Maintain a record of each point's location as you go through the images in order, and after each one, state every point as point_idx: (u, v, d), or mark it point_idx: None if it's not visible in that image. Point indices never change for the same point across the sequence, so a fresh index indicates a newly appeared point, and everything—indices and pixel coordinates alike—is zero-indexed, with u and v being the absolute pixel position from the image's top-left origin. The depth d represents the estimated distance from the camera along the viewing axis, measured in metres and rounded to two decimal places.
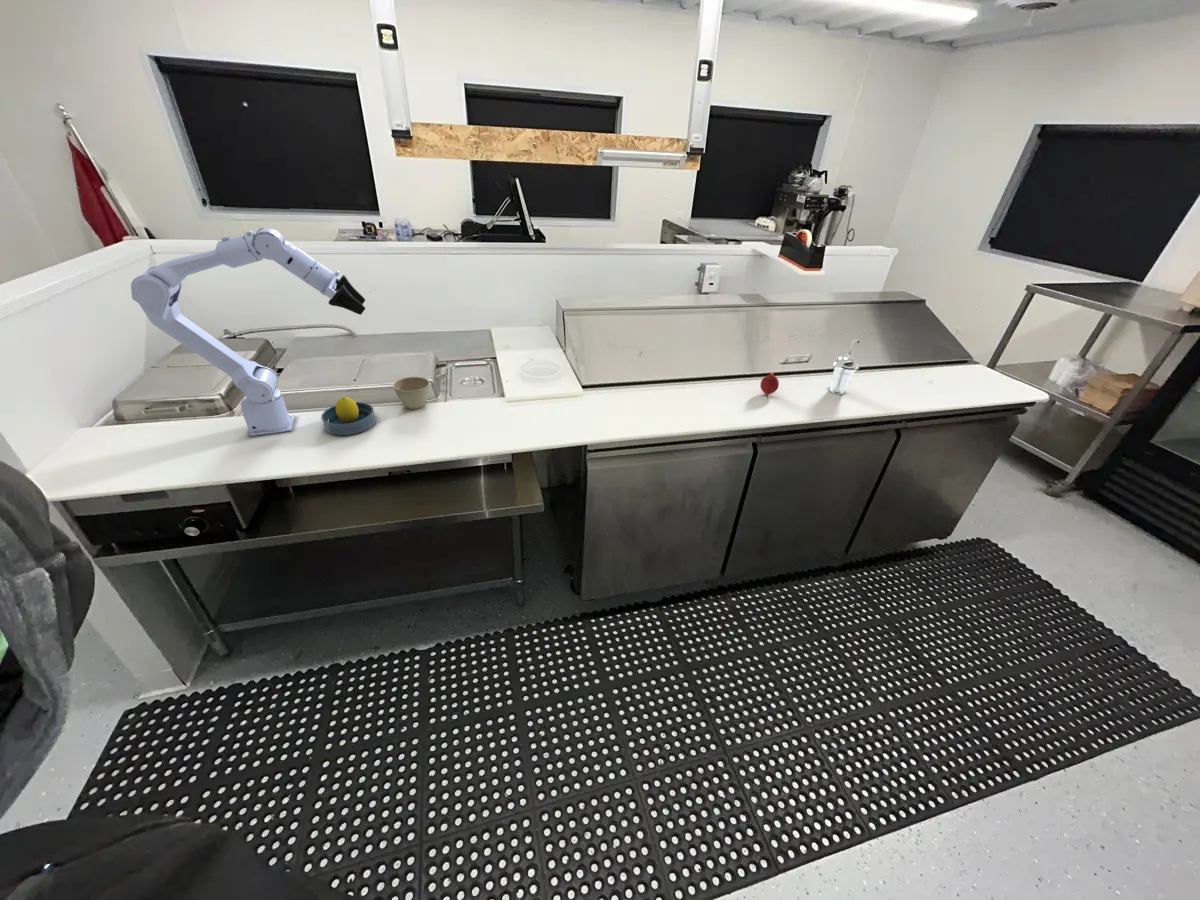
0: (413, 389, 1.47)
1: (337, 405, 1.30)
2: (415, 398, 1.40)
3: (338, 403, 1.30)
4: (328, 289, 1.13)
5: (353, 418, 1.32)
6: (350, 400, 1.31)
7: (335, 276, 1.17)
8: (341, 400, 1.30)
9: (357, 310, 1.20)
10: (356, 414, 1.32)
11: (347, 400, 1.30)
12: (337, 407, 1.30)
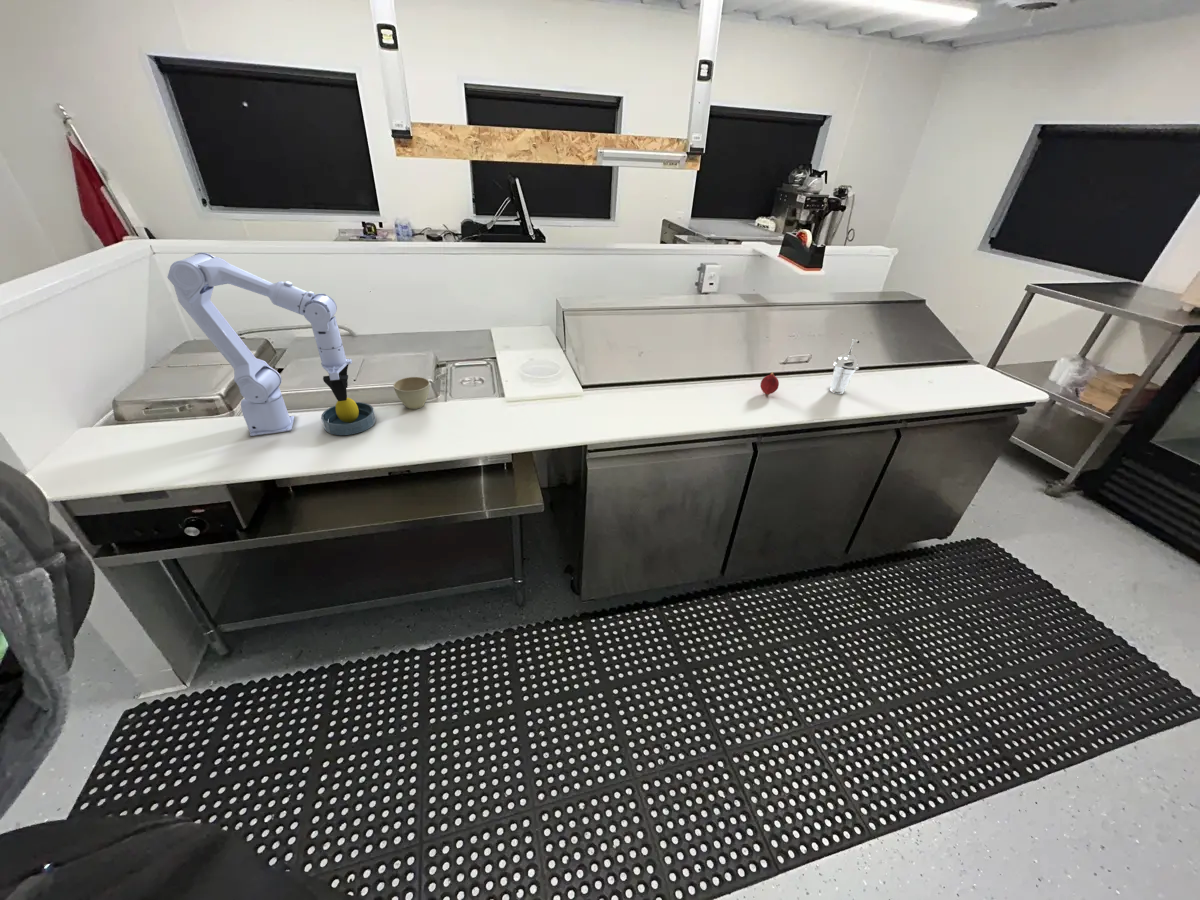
0: (413, 389, 1.47)
1: (337, 405, 1.30)
2: (415, 398, 1.40)
3: (338, 403, 1.30)
4: (335, 373, 1.20)
5: (353, 418, 1.32)
6: (350, 400, 1.31)
7: (346, 363, 1.25)
8: None
9: (339, 397, 1.26)
10: (356, 414, 1.32)
11: (347, 400, 1.30)
12: (337, 407, 1.30)
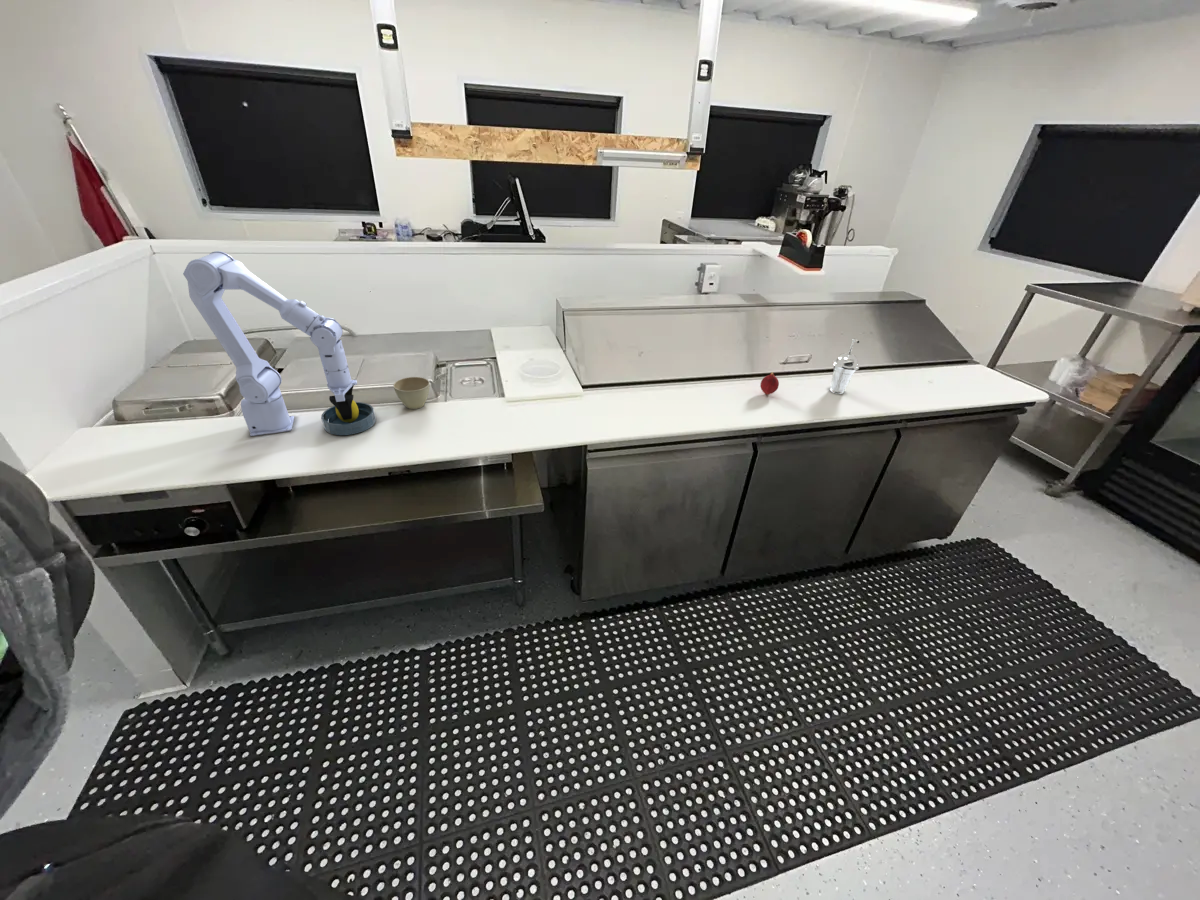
0: (413, 389, 1.47)
1: None
2: (415, 398, 1.40)
3: None
4: (341, 395, 1.23)
5: (353, 418, 1.32)
6: None
7: (351, 385, 1.28)
8: None
9: (344, 415, 1.29)
10: (356, 414, 1.32)
11: None
12: None
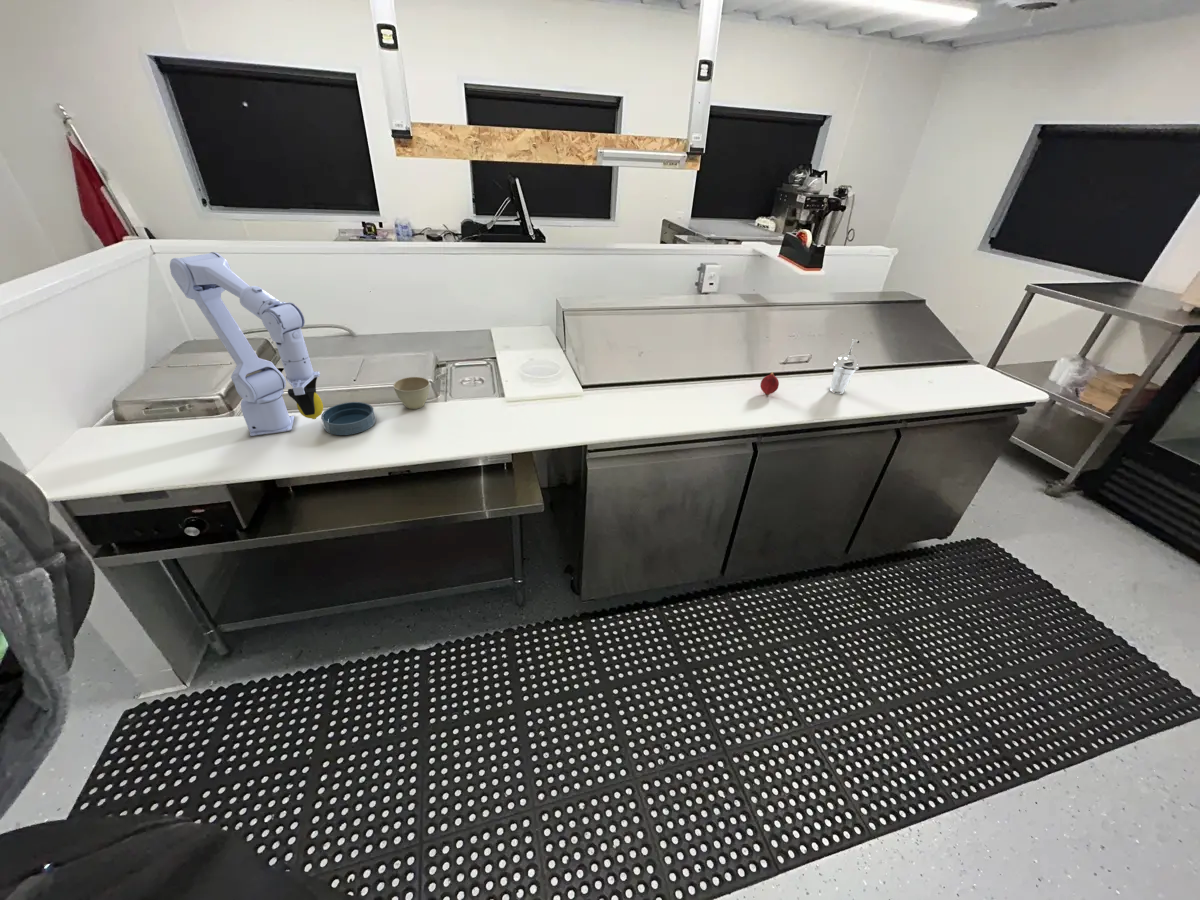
0: (413, 389, 1.47)
1: None
2: (415, 398, 1.40)
3: None
4: (300, 388, 1.11)
5: (316, 413, 1.20)
6: None
7: (313, 376, 1.16)
8: None
9: (306, 411, 1.18)
10: (320, 409, 1.21)
11: None
12: None
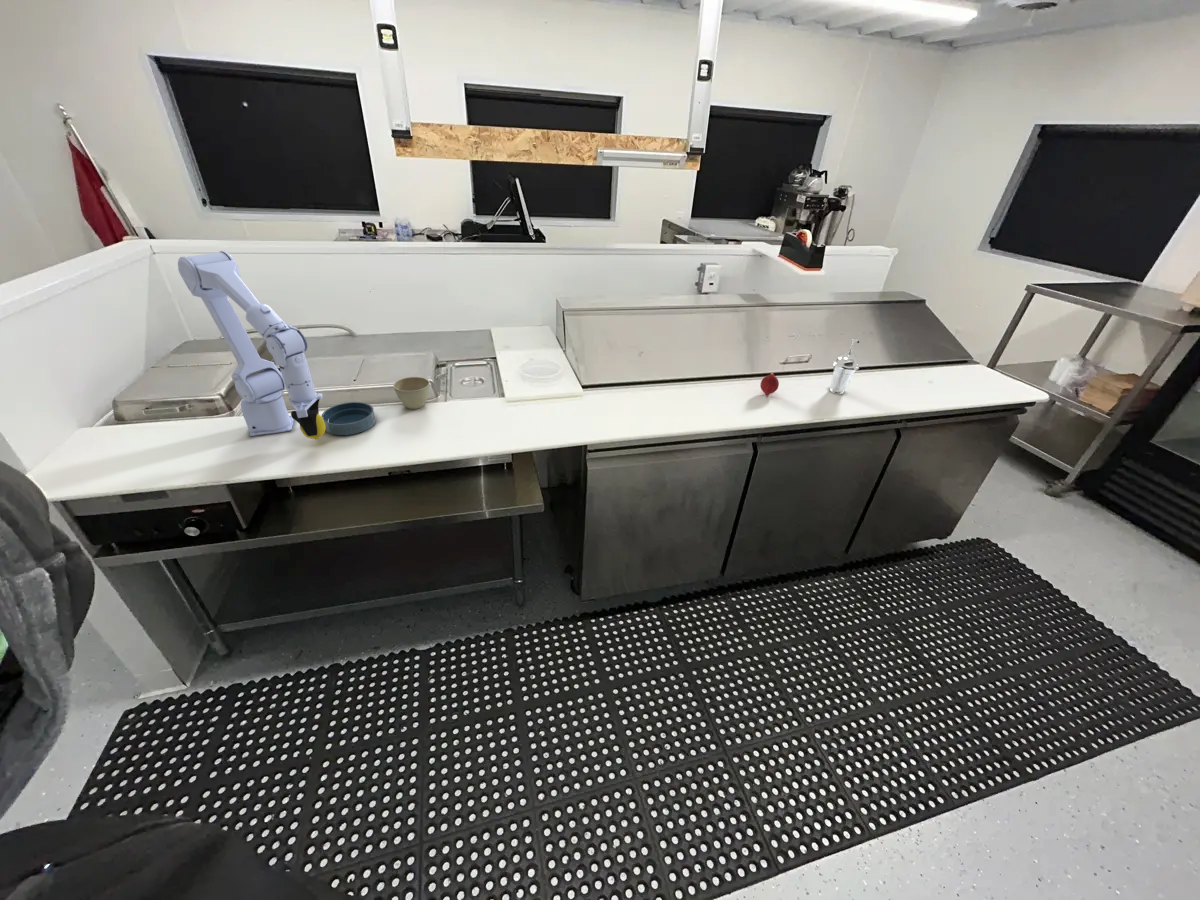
0: (413, 389, 1.47)
1: None
2: (415, 398, 1.40)
3: None
4: (303, 410, 1.13)
5: (319, 434, 1.22)
6: None
7: (316, 398, 1.18)
8: None
9: (309, 432, 1.20)
10: (322, 430, 1.23)
11: None
12: None
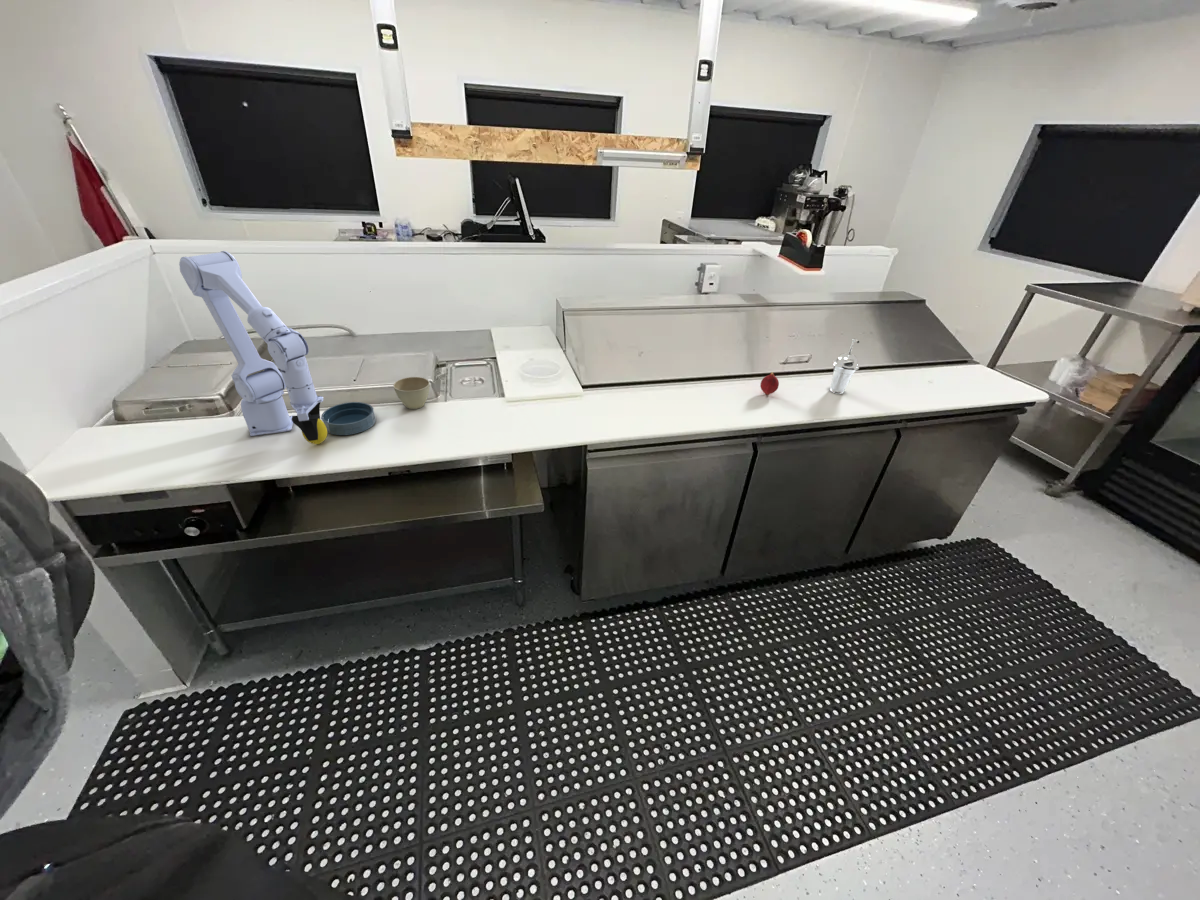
0: (413, 389, 1.47)
1: None
2: (415, 398, 1.40)
3: None
4: (304, 414, 1.14)
5: (321, 439, 1.23)
6: None
7: (317, 402, 1.19)
8: None
9: (309, 436, 1.20)
10: (324, 435, 1.24)
11: None
12: None
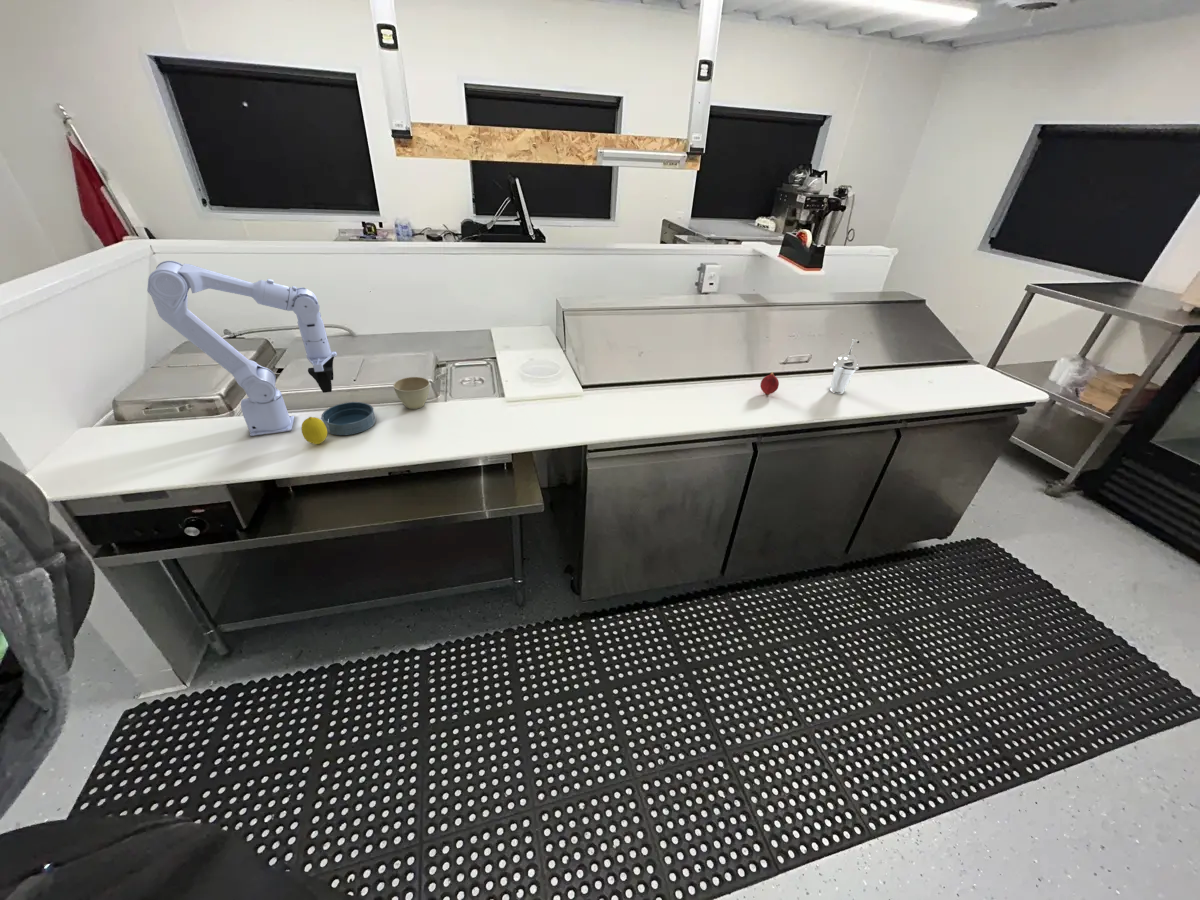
0: (413, 389, 1.47)
1: (303, 426, 1.21)
2: (415, 398, 1.40)
3: (304, 424, 1.21)
4: (320, 365, 1.23)
5: (321, 439, 1.23)
6: (317, 420, 1.22)
7: (331, 356, 1.28)
8: (307, 420, 1.21)
9: (324, 388, 1.29)
10: (324, 435, 1.24)
11: (313, 421, 1.21)
12: (303, 428, 1.21)
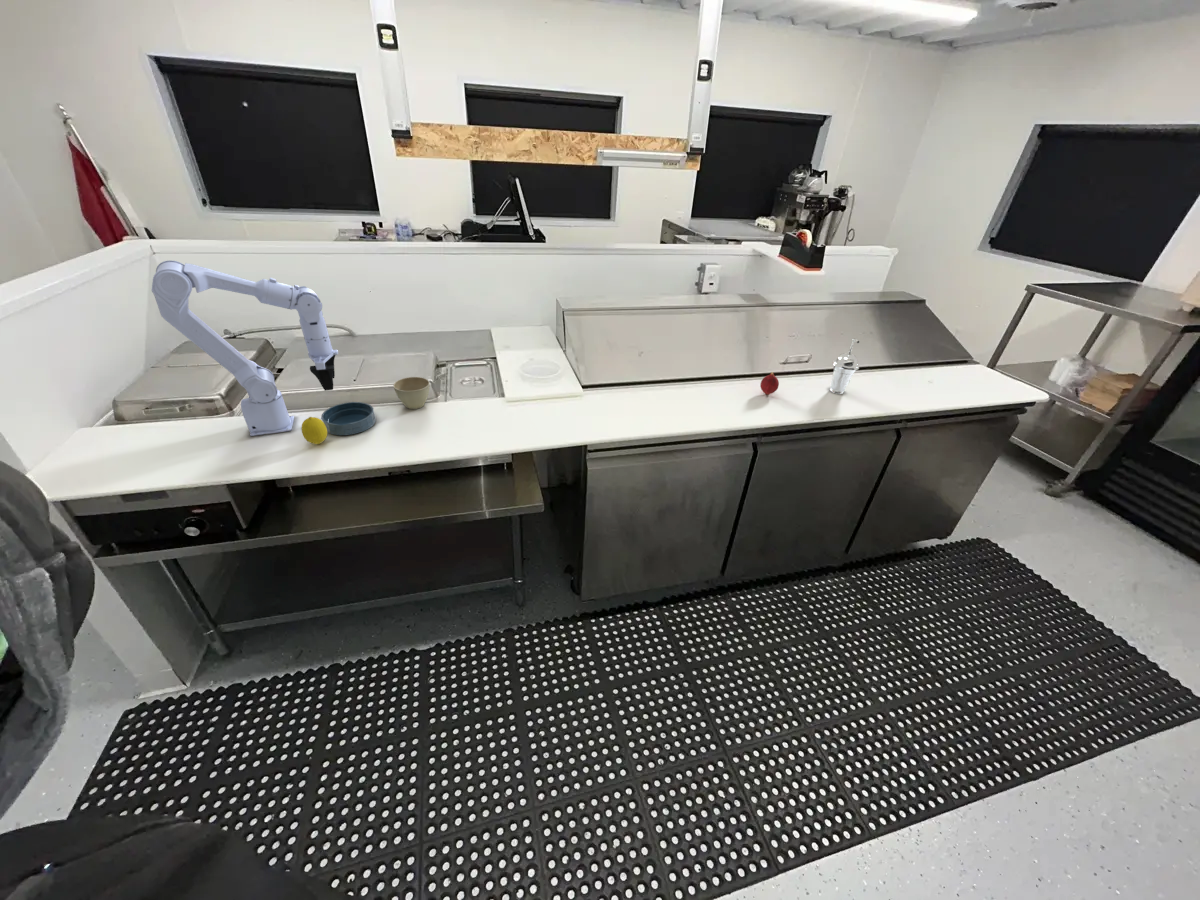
0: (413, 389, 1.47)
1: (303, 426, 1.21)
2: (415, 398, 1.40)
3: (304, 424, 1.21)
4: (321, 363, 1.24)
5: (321, 439, 1.23)
6: (317, 420, 1.22)
7: (332, 354, 1.29)
8: (307, 420, 1.21)
9: (325, 386, 1.30)
10: (324, 435, 1.24)
11: (313, 421, 1.21)
12: (303, 428, 1.21)
